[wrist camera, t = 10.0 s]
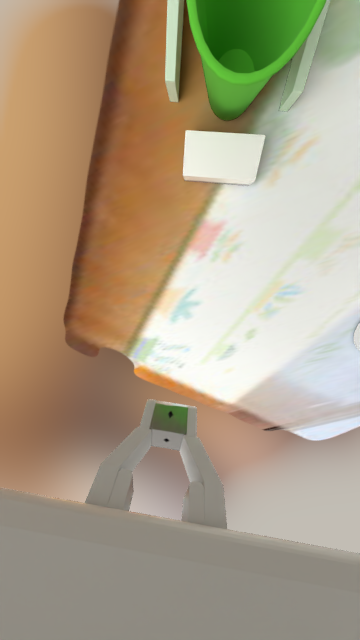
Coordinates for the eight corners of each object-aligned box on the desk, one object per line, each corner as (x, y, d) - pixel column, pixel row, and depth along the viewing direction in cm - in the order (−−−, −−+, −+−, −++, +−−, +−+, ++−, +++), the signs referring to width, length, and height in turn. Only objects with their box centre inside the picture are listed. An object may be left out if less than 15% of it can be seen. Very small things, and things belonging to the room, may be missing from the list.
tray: (328, -36, 15) (360, -99, 12) (287, 111, 20) (302, 91, 17) (176, -44, 16) (170, -107, 13) (170, 101, 20) (165, 80, 17)
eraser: (256, 147, 22) (265, 135, 19) (247, 186, 24) (254, 180, 21) (187, 142, 22) (185, 130, 19) (184, 181, 24) (182, 175, 21)
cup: (246, 155, 22) (281, 105, 13) (181, 126, 21) (167, 50, 12) (291, 44, 18) (398, -164, 8) (210, 1, 17) (225, -281, 7)
